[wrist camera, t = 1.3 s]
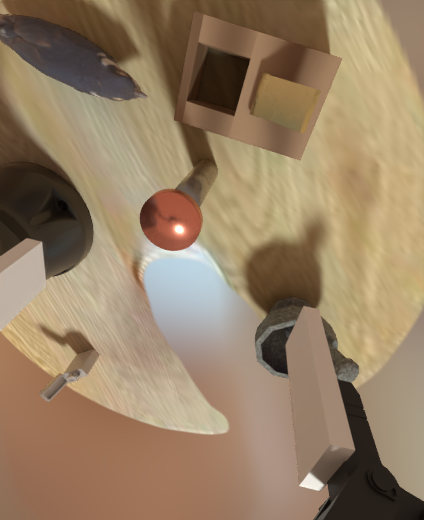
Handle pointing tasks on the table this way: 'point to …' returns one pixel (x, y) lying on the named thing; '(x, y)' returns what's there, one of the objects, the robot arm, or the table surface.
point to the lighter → (71, 373)
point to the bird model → (67, 57)
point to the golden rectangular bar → (284, 102)
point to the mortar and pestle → (277, 334)
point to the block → (251, 83)
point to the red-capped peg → (178, 209)
